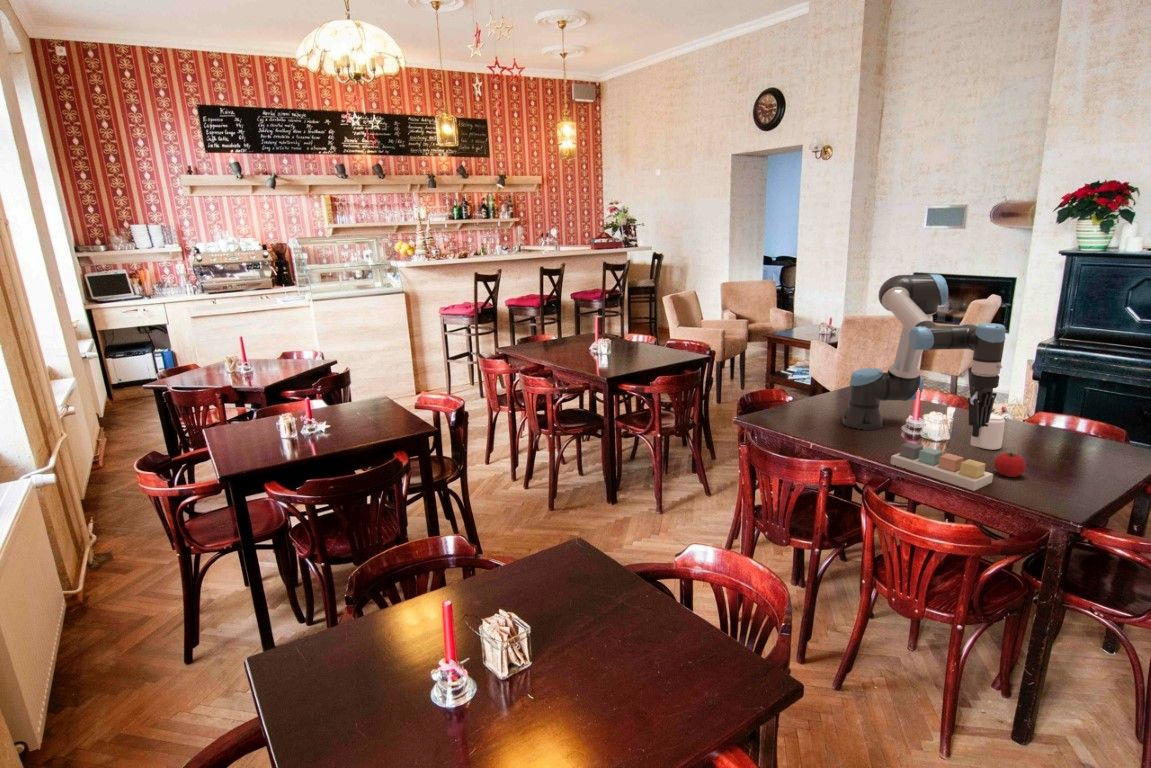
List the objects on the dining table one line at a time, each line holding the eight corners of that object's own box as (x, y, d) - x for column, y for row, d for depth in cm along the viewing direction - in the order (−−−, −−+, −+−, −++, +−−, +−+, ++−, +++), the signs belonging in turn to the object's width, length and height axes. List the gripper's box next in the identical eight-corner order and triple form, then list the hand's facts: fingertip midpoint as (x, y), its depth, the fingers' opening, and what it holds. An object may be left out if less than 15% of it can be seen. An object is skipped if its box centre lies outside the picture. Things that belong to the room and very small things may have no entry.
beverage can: (993, 443, 237) (998, 412, 234) (1005, 450, 230) (1010, 419, 227) (971, 443, 238) (975, 412, 235) (982, 450, 230) (986, 419, 227)
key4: (959, 475, 204) (960, 462, 203) (967, 471, 207) (969, 459, 206) (975, 480, 200) (977, 467, 199) (983, 476, 203) (985, 463, 201)
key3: (938, 468, 210) (939, 456, 209) (946, 465, 212) (948, 453, 211) (953, 473, 206) (955, 460, 205) (961, 469, 208) (963, 457, 207)
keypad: (890, 463, 221) (891, 455, 220) (908, 457, 227) (909, 449, 226) (973, 490, 198) (975, 482, 197) (991, 482, 204) (993, 473, 203)
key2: (918, 462, 215) (919, 450, 214) (926, 459, 218) (928, 447, 217) (933, 467, 211) (934, 454, 210) (941, 463, 214) (942, 451, 213)
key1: (899, 456, 221) (900, 445, 220) (907, 453, 224) (909, 442, 222) (913, 461, 217) (914, 449, 216) (921, 457, 219) (923, 446, 218)
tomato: (1013, 482, 203) (1016, 459, 201) (986, 472, 211) (989, 450, 209) (1030, 477, 207) (1034, 454, 205) (1003, 468, 214) (1006, 446, 212)
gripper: (987, 379, 188) (977, 453, 194) (1009, 372, 195) (999, 444, 201) (961, 374, 195) (952, 446, 200) (983, 368, 201) (974, 438, 207)
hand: (975, 445), depth 201 cm, fingers closed
